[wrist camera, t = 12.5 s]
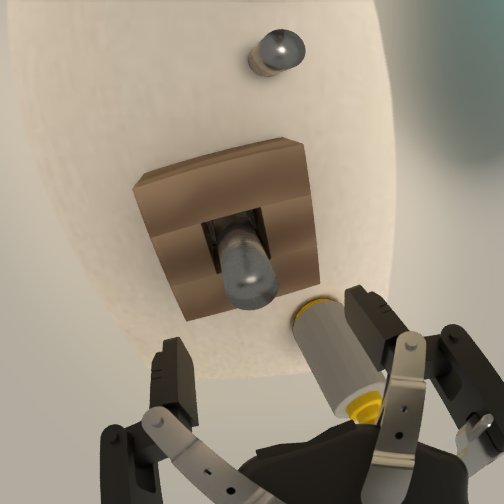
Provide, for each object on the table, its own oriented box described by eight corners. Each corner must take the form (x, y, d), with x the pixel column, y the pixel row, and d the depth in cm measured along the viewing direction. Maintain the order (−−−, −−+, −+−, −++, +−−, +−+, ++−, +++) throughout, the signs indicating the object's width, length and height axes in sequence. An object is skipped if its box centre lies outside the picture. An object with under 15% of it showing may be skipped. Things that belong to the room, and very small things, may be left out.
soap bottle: (313, 344, 36) (369, 461, 20) (277, 324, 33) (332, 464, 17) (352, 308, 34) (427, 422, 18) (319, 283, 31) (404, 418, 15)
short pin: (245, 47, 19) (257, 31, 14) (280, 42, 19) (300, 28, 14) (252, 79, 20) (267, 71, 16) (287, 73, 20) (309, 66, 16)
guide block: (144, 173, 22) (132, 189, 18) (282, 137, 23) (303, 144, 18) (186, 288, 28) (186, 321, 24) (301, 256, 29) (320, 283, 24)
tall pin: (209, 207, 25) (219, 274, 15) (242, 198, 25) (274, 259, 15) (217, 237, 26) (233, 315, 17) (249, 228, 26) (282, 301, 17)
